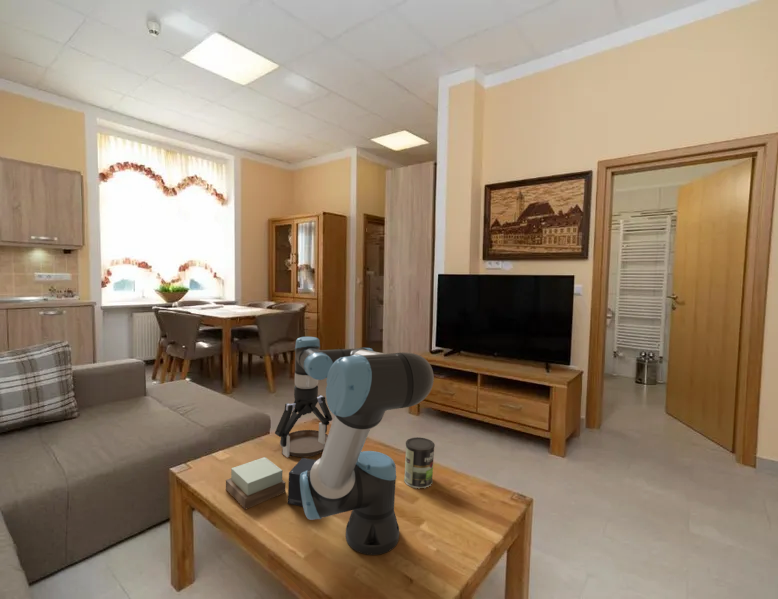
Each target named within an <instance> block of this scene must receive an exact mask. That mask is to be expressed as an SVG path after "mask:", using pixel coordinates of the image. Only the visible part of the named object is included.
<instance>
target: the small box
mask: <svg viewBox="0 0 778 599" xmlns="http://www.w3.org/2000/svg"><path fill="white" fill-rule="evenodd" d="M317 460H318V459H313V458H311V459H310V458H306V457H301V459H300V460H299V461H298V462H297V463H296V464H295V465H294V466H293V467H292V469H291V470H290V471H289V472H288V485H287V486H288V489H287V505H293V506H299V507H303V503H302V497H301V490H300V474H301V473H302V472H305V471H307V470H308V471H311V468H312V466H313V465H314V463H315V462H316V461H317Z"/></svg>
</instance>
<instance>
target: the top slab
mask: <svg viewBox="0 0 778 599" xmlns="http://www.w3.org/2000/svg"><path fill="white" fill-rule="evenodd" d="M230 473H231V474H230V475H231V476H230V478H231V480H232V481H233V482H234V483H235V484H236V485H237V486H238V487H239V488H240V489H241V490H242V491H243V492H244V493H245V494H246V495H247V496H248V495H251V494H253V493H256V492H258V491H261V490H263V489H266V488H268V487H271V486H273V485H276V484H278V483H281V482H282V480H283V470H282V469H281V468H280V467H279V466H277V464H275V463H274V462H273V461H271V460H270V459H268V458H267V457H265V456H263V457H261V458H258V459H255V460H252V461H249V462H246V463H243V464H240V465H237V466H235V467H231V472H230Z"/></svg>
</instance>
